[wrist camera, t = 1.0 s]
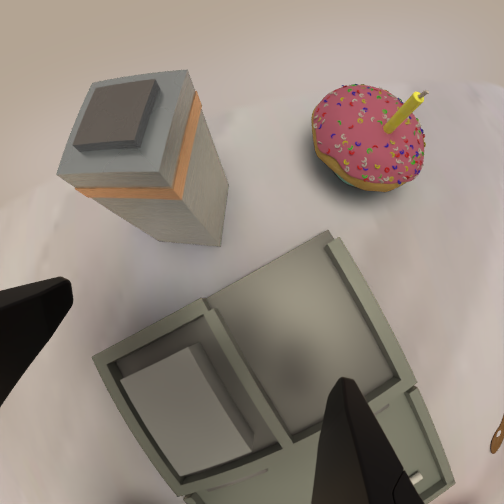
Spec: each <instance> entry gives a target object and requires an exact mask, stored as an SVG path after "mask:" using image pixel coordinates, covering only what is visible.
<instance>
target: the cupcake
mask: <svg viewBox="0 0 504 504" xmlns="http://www.w3.org/2000/svg"><path fill="white" fill-rule="evenodd" d="M342 86H343V85H342ZM379 88H380V87H379ZM379 88H376V87H371V86H366V85H364V84H361V85H357V84H354V85H349V86H343V87H342V88H339V89H336V90H334V91H332V92H330V93H329V94H327V95H326V96H325V97H324V98H323V100H322V101H321V102H320V103H319V104H318V105H317V106H316V107H315V109H314V111H313V113H312V133H313V141H314V147H315V151H316V154H317V156H318V157H319V158H320V159H321V160H322V161H323V162H324V163H325V164H326V165H327V166H328V167H330V168H331V169H332V170H333V171H334V172H335V174H336V175H337V176H338V177H339V178H340V179H341V180H342V181H343V182H345V183H346V184H348V185H351V186H354V187H358V188H360V189H363V190H366V191H381V192H387V191H391V190H393V189H395V188H397V187H399V186H401V185H403V184H404V183H406V182H408V181H412V180H413V179H415V178H416V177H417V175H418V174H419V173H420V171H421V169H422V167H423V159H424V147H425V145H426V144H425V142H424V137H425V134H423V132H422V131H423V129H421V125H420V123H419V122H418V121H419V120H418V119H417V118H415V116H414V115H413V113H412V112H413V111H414V110H415V109H416V108H417V107H418V106H419V105H420V104H421V103H422V102H423V101H424V96H425V95H426V94H428V93H429V92H428V91H427V90H426V91H423V92H422V93H419V92H414V93H413V94H412V96H411V97H410V98H409V99H408V100H407V101H406V102H405V103H404V104H403V102H402V100H401V99H399V98H396V97H395V96H394V95H392V94H391V93H389V92H388V91H387V90H383V89H382V88H380V89H379ZM400 100H401V101H400ZM424 144H425V145H424Z"/></svg>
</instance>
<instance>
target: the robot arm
mask: <svg viewBox="0 0 504 504" xmlns="http://www.w3.org/2000/svg"><path fill="white" fill-rule="evenodd" d="M72 304H73V294H72V286H71V282H70V281H69V280H68V279H66V278H64V277H56V278H51V279H47V280H43V281H39V282H35V283H30V284H26V285H22V286H18V287H14V288H10V289H6V290H2V291H0V407H1V405H2V404H3V402H4V401H5V399H6V398H7V396H8V395H9V393H10V392H11V391H12V389H13V388H14V386H15V385H16V383H17V382H18V381H19V379H20V378H21V376H22V375H23V374H24V372H25V371H26V370H27V368H28V367H29V366H30V364H31V363H32V362H33V360H34V359H35V358H36V356H37V355H38V354H39V352H40V351H41V350H42V349H43V347H44V346H45V345H46V343H47V342H48V341H49V339H50V338H51V337H52V335H53V334H54V332H55V331H56V329H57V328H58V326H59V325H60V323H61V322H62V320H63V319H64V317H65V316H66V314H67V313H68V311H69V310H70V308H71V307H72ZM311 504H425V503H424V501H423V500H422V498H421V497H420V495H419V494H418V492H417V490H416V489H415V487H414V485H413V483H412V482H411V480H410V478H409V476H408V474H407V473H406V471H405V470H404V467H403V465H402V464H401V462H400V460H399V458H398V456H397V454H396V453H395V451H394V449H393V447H392V445H391V444H390V442H389V440H388V438H387V436H386V435H385V433H384V431H383V429H382V427H381V426H380V424H379V422H378V420H377V419H376V417H375V415H374V413H373V411H372V410H371V408H370V406H369V404H368V403H367V401H366V399H365V397H364V396H363V394H362V392H361V390H360V389H359V387H358V385H357V383H356V382H355V380H354V379H351V378H347V377H340V378H339V379H338V381H337V382H336V384H335V385H334V387H333V388H332V390H331V392H330V393H329V395H328V398H327V403H326V408H325V413H324V418H323V423H322V428H321V432H320V437H319V442H318V449H317V459H316V468H315V477H314V485H313V493H312V500H311Z"/></svg>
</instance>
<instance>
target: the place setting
mask: <svg viewBox="0 0 504 504" xmlns="http://www.w3.org/2000/svg"><path fill="white" fill-rule="evenodd" d="M499 430H501V434H500V436H499V437H496V435H497V432H498V431H499ZM503 439H504V415H503V419H502V422H501V424H500V426H499V427H498V429H497V430H496V432H495V434H494V436H493V439H492V442H491V452H492V453H493V454H494V453H496V451H497V450H498V449H499V447H500V445H501V443H502V441H503Z"/></svg>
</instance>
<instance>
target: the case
mask: <svg viewBox="0 0 504 504" xmlns="http://www.w3.org/2000/svg"><path fill="white" fill-rule="evenodd" d="M92 359H93V361H94V363H95V365H96V368H97V370H98V372H99V374H100V376H101V378H102V380H103V382H104V384H105V386H106V388H107V390H108V391H109V393H110V395H111V397H112V399H113V401H114V403H115V404H116V406H117V408H118V410H119V412H120V413H121V415H122V417H123V418H124V420H125V422H126V424H127V425H128V427H129V428H130V430H131V432H132V433H133V435H134V437H135V438H136V440H137V441H138V443H139V444H140V446H141V447H142V449H143V450H144V452H145V453H146V455H147V456H148V458H149V459H150V461H151V462H152V464H153V465H154V466H155V468H156V469H157V471H158V472H159V473H160V475H161V476H162V477H163V479H164V480H165V481H166V483H167V484H168V485H169V487H170V488H171V489H172V490H173V492H174V493H175V494H176V495H177V497H179V496H183V495H185V497H184V499H183V500H184V501H185V502H186V503H187V504H311V500H312V493H313V485H314V477H315V468H316V459H317V449H318V442H319V437H320V432H321V428H322V423H323V418H324V413H325V408H326V403H327V398H328V395H329V393H330V392H331V390H332V388H333V387H334V385H335V384H336V382H337V381H338V379H339V378H340V377H347V378H351V379H354V380H355V382H356V383H357V385H358V387H359V389H360V390H361V392H362V394H363V396H364V397H365V399H366V401H367V403H368V404H369V406H370V408H371V410H372V411H373V413H374V415H375V417H376V419H377V420H378V422H379V424H380V426H381V427H382V429H383V431H384V433H385V435H386V436H387V438H388V440H389V442H390V444H391V445H392V447H393V449H394V451H395V453H396V454H397V456H398V458H399V460H400V462H401V464H402V465H403V467H404V470H405V471H406V473H407V474H408V476H409V478H410V480H411V482H412V483H413V485H414V487H415V489H416V490H417V492H418V494H419V495H420V497H421V498H422V500H423V501H424V503H425V504H428V503H429V502H431V501H432V500H434V499H435V498H437V497H438V496H439V495H441V494H442V493H443V492H445V491H446V490H448V489H449V488H450V487H451V486H453V485H454V484H455V480H454V477H453V474H452V471H451V468H450V466H449V463H448V460H447V457H446V455H445V452H444V449H443V447H442V444H441V441H440V439H439V436H438V434H437V431H436V429H435V426H434V424H433V421H432V419H431V417H430V414H429V412H428V410H427V407H426V405H425V403H424V400H423V398H422V396H421V394H420V391H419V389H418V387H416V386H414V385H415V384H416V383H417V381H416V379H415V376H414V374H413V372H412V370H411V368H410V366H409V364H408V362H407V359H406V357H405V355H404V353H403V351H402V349H401V347H400V345H399V343H398V341H397V339H396V337H395V335H394V333H393V331H392V329H391V327H390V325H389V323H388V322H387V320H386V318H385V316H384V314H383V312H382V310H381V308H380V306H379V305H378V303H377V301H376V299H375V297H374V295H373V294H372V292H371V290H370V288H369V286H368V285H367V283H366V281H365V279H364V277H363V276H362V274H361V272H360V270H359V269H358V267H357V265H356V264H355V262H354V260H353V258H352V257H351V255H350V253H349V252H348V250H347V248H346V247H345V245H344V243H343V242H342V240H341V238H340V237H338V238H337V239H335V240H334V238H333V236H332V235H331V233H330V232H329V230H327V231H325V232H323V233H321V234H320V235H318V236H316V237H314V238H313V239H311V240H309V241H307V242H306V243H304V244H302V245H300V246H299V247H297V248H295V249H293V250H292V251H290V252H288V253H286V254H285V255H283V256H281V257H279V258H278V259H276V260H274V261H272V262H270V263H269V264H267V265H265V266H263V267H262V268H260V269H258V270H256V271H254V272H253V273H251V274H249V275H247V276H246V277H244V278H242V279H240V280H238V281H237V282H235V283H233V284H231V285H229V286H228V287H226V288H224V289H222V290H220V291H219V292H217V293H215V294H213V295H211V296H209V297H208V298H200V299H198V300H196V301H194V302H193V303H191V304H189V305H187V306H185V307H183V308H182V309H180V310H178V311H176V312H174V313H173V314H171V315H169V316H167V317H165V318H163V319H161V320H160V321H158V322H156V323H154V324H152V325H150V326H149V327H147V328H145V329H143V330H141V331H139V332H137V333H136V334H134V335H132V336H130V337H128V338H126V339H124V340H123V341H121V342H119V343H117V344H115V345H113V346H111V347H109V348H108V349H106V350H104V351H102V352H100V353H98V354H96V355H94V356H92Z"/></svg>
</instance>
